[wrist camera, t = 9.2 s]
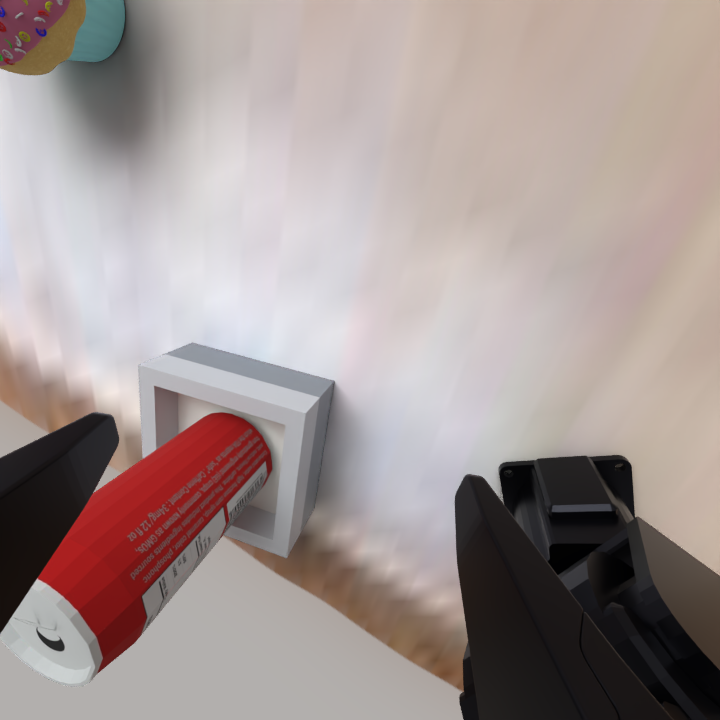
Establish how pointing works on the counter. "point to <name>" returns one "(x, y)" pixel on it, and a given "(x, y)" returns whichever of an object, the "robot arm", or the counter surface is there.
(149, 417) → the socket block
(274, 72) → the counter surface
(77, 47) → the cupcake
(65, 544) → the soda can
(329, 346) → the counter surface
